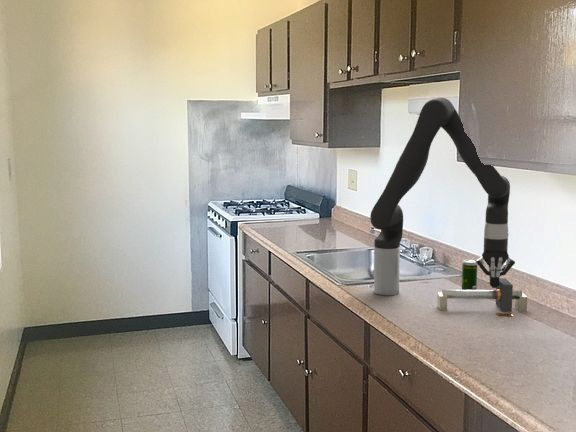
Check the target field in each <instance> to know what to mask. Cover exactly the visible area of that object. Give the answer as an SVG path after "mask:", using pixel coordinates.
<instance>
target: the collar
mask: <svg viewBox="0 0 576 432" xmlns="http://www.w3.org/2000/svg"><path fill="white" fill-rule="evenodd" d="M513 287H514V285H513V283H512V282H510V281H509V280H508V279H507V278H504V277H502V278H501V277H499V286H497V288H495V290H497V289H501V300H497V299H495V305H496V306H497V307H498V309H499V310H500V311H501V313H512V312H513V311H512V310H513V309H512V308H513V299H512V292H513V290H514V289H513Z"/></svg>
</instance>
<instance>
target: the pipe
mask: <svg viewBox="0 0 576 432" xmlns="http://www.w3.org/2000/svg"><path fill="white" fill-rule="evenodd" d="M449 299H450V300H496V299H497V300H501V289H497V290H496V289H477V290H462V289H441V291H438V292H437V301H436V304H437V305H436V306H437V309H438V310H439V311H440V312H441V311H442V312H443V311H444V312H446V311H448V300H449ZM512 300H514V301H515V302H514V308H515V309H516V310H517V311H518V312H519V313H523V312H525V313H526V312H527V310H528V296H527V295H526V294H525V293H524V292H523V291H522V290H521V289H520V290H518V289H517V290H516V289H513V292H512ZM495 315H496V316H497V317H499V318H500V317H501V318H514V317H515V316H514V314H513V313H512V312H495Z"/></svg>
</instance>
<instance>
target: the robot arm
mask: <svg viewBox="0 0 576 432" xmlns="http://www.w3.org/2000/svg"><path fill="white" fill-rule="evenodd" d="M461 120H462V118H461V117H460V115H459V113H458V111H457V110H456V108H455V106H454V105H453V103H452V102H451V100H449V99H448V98H446V97H436V98H432V99H430V100H428V101H426V102H425V103H424V105H423V106H422V107H421V110H420V113H419V115H418V118H417V121H416V124H415V127H414V129H413V132H412V134H411V136H410V138H409V140H408V141H407V143H406V145H405V147H404V149H403V151H402V153H401V155H400V157H399V158H398V161H397V163H395V164H396V165H395V167H394V170H393V171H392V173H391V175H390V177H389V179H388V182H387V183H386V186H385V188H384V190H383V192H382V193H381V194H380V196H379V198H378V199H377V201H376V203H375V204H374V206H373V208H372V210H371V211H370V215H369V216H370V223H371V225H372V227H373V228H374V229H377V230H380V233H379V234H378V235H377V236H376V238H375V239H374V245H373V246H374V249H373V250H374V255H373V256H374V257H373V258H374V259H373V260H374V261H373V264H374V265H373V267H374V268H373V269H374V271H373V272H374V273H373V274H374V277H373V281H374V283H373V293H374V294H376V295H381V296H393V295H394V296H396V295H398V294H400V267H401V266H400V257H401V252H400V251H401V249H400V248H401V241H402V239H403V231H404V230H403V229H404V211H403V210H402V207H401V206H400V204H399V203H400V202H401V200H402V199H403V197H404V196H406V194H407V193H409V191H410V190H411V189H412V188H413V187H414V186H415V185H416V183H418V181H419V179H420V178H421V176H422V174H423V173H424V170H425V168H426V165H427V164H428V159H429V156H430V150H431V146H432V142H433V141H434V139H435V138H436V135H437V134H438V132H439V130H440V129H443V130H444V132H445V133H446V134H447V135H448V136H449V138H450V139H451V141H452V142H453V143H454V145H455V148H456V150H457V152H458V154H459V157H460V158H461V159H462V161H463V163H464V164H465V165H466V166H467V168H468V169H469V170H470V171H471V173H472V174H473V175H474V176H475V177H476V179H477V181H478V182H479V184H480V186H481V187H482V188H483V191H484V192H485V193H486V194H487V205H486V209H485V221H484V222H485V224H484V230H483V232H484V235H483V252H482V254H481V257H479V258H476V259H475V261H476V263H477V266H478V268H480V270H482V272H483V274H484V275H486V276H489V283H488V284H489V286H490V287H491V288H492V289H496V288H497V286H499V278H501V277H502V276H505V275H507V273H508V272H509V271H510V270H511V269H512V267H513V266H515V264H516V262H515V260H513V259H512V258H511V257H510V255H509V253H508V248H509V247H508V245H509V244H508V243H509V224H508V223H509V202H510V201H509V200H510V195H511V194H510V193H511V184H510V180H509V179H508V178H507V177H506V176H504V175H501V174H500V172H499V171H498V170H497V169H496V168H495V166H494V165H493V166H491V165H484V164H483V163H481V161H480V159H479V157H478V155H477V152H476V148H475V146H474V144H473V143H472V141H471V139H470V138H469V137H468V136H467V134H466V133H465V132H464V128H463V124H464V123H463V124H462V122H463V121H462V122H461ZM484 263H486V264H487V266H488V269H487V268H486V267H485V266H484ZM504 264H505V265H504Z"/></svg>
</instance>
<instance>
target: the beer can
mask: <svg viewBox="0 0 576 432" xmlns="http://www.w3.org/2000/svg"><path fill="white" fill-rule="evenodd" d="M461 265H462V267H461V290H478V286H477V285H478V264H477V263H476V259H475V260H474V259H464V260H463V261H462V264H461Z"/></svg>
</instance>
